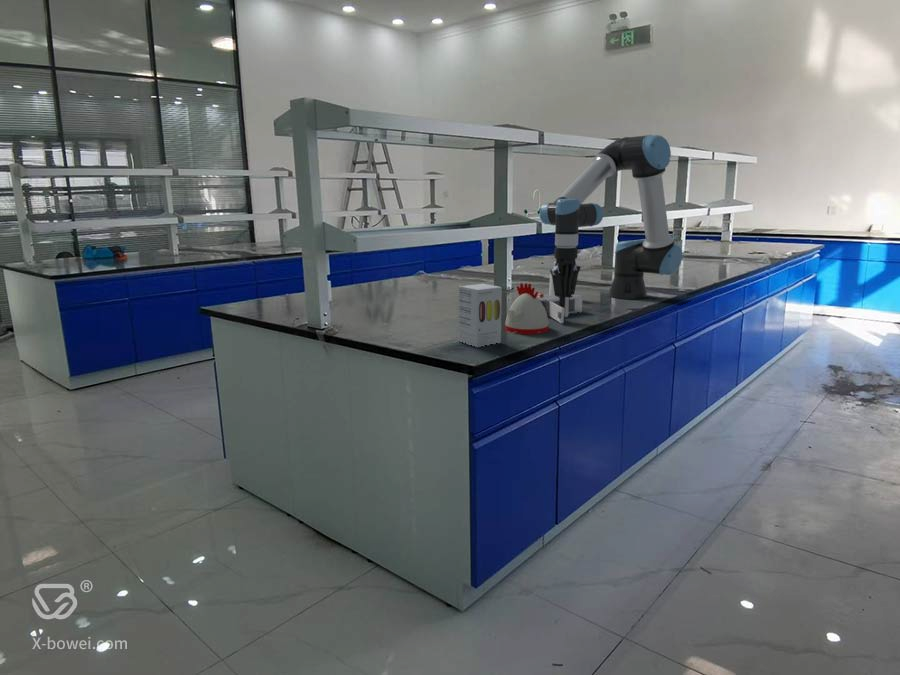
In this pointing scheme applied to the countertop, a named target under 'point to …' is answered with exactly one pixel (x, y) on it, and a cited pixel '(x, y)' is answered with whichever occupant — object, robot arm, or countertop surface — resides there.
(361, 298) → the countertop surface
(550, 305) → the thin white box
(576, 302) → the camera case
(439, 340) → the countertop surface
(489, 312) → the supplement box
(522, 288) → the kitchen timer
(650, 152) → the robot arm
